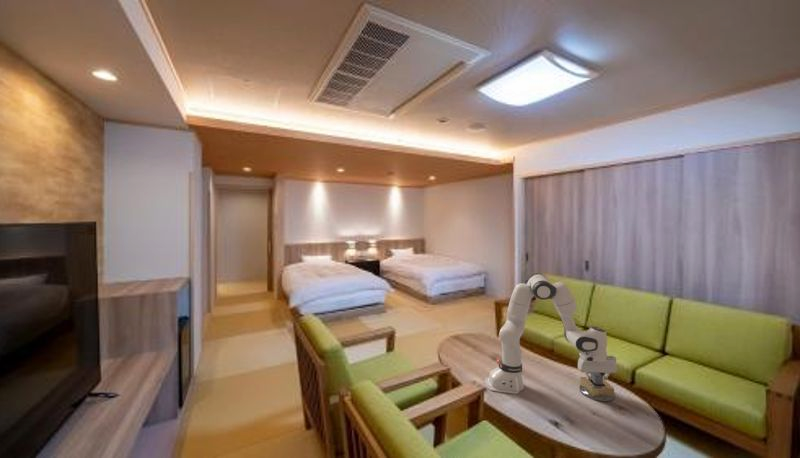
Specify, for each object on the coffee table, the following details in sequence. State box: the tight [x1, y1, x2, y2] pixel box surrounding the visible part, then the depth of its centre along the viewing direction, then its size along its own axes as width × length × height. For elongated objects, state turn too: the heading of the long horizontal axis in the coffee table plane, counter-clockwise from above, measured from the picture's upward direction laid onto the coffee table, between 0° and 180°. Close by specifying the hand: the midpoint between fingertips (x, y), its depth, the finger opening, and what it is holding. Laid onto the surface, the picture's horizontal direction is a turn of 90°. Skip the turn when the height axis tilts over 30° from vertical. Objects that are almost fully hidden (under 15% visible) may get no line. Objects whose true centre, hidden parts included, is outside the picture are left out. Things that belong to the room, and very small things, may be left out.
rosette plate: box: [579, 376, 616, 403], centre depth 179 cm, size 17×17×6 cm
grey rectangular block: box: [590, 372, 603, 386], centre depth 179 cm, size 4×5×10 cm
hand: (596, 379), depth 179 cm, fingers open, 8 cm apart
